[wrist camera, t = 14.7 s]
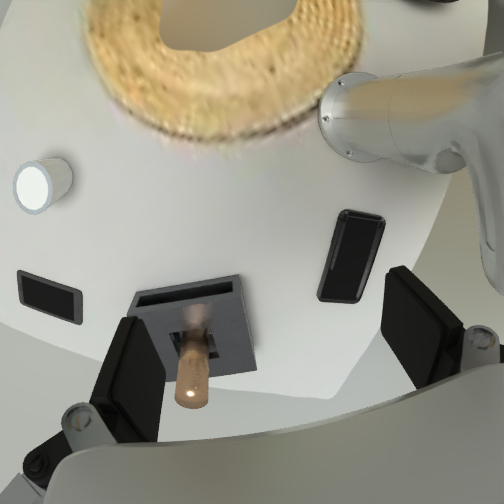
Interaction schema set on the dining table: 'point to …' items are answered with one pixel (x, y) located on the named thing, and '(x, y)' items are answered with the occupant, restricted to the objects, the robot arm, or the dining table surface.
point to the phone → (350, 257)
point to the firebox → (199, 323)
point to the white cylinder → (41, 184)
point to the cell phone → (50, 297)
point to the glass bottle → (444, 1)
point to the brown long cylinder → (193, 369)
